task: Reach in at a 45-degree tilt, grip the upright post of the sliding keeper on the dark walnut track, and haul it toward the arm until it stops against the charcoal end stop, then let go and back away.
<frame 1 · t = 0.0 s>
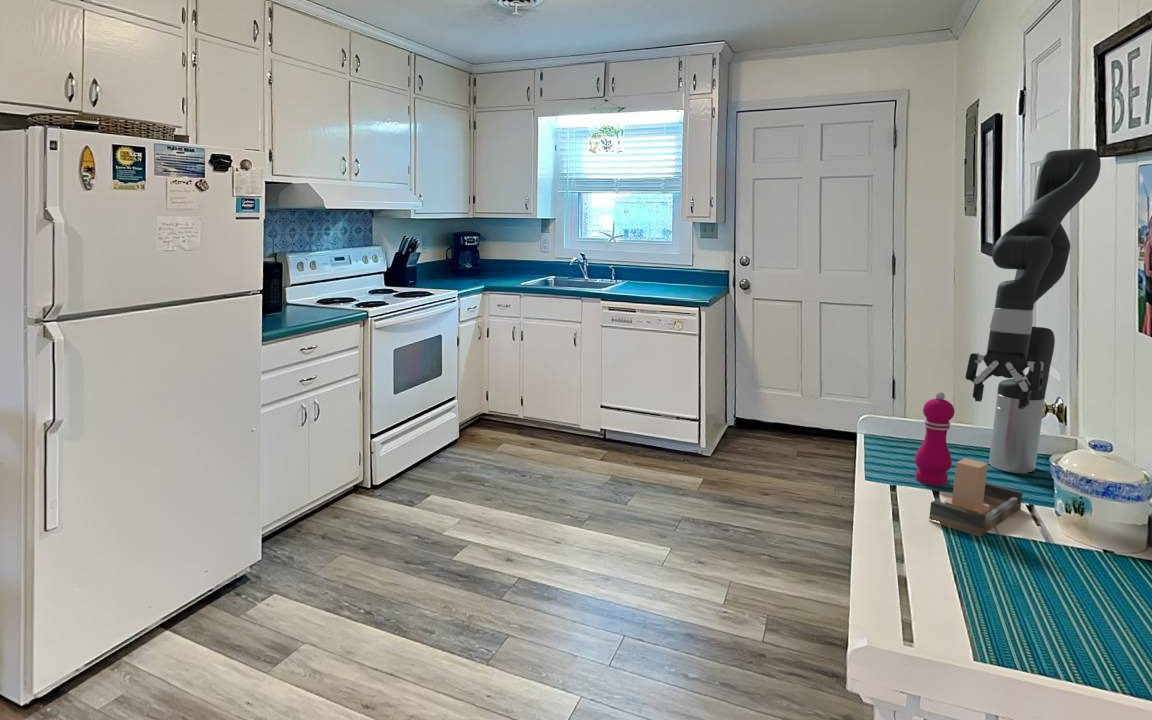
hand: (999, 404, 151), 17 cm above the table, tool pointing down, fingers open, 8 cm apart
track: (975, 515, 135), on the table
keeper: (969, 488, 130), point 7 cm above the table, slide at 5.0 cm
pepper mill: (930, 481, 154), on the table
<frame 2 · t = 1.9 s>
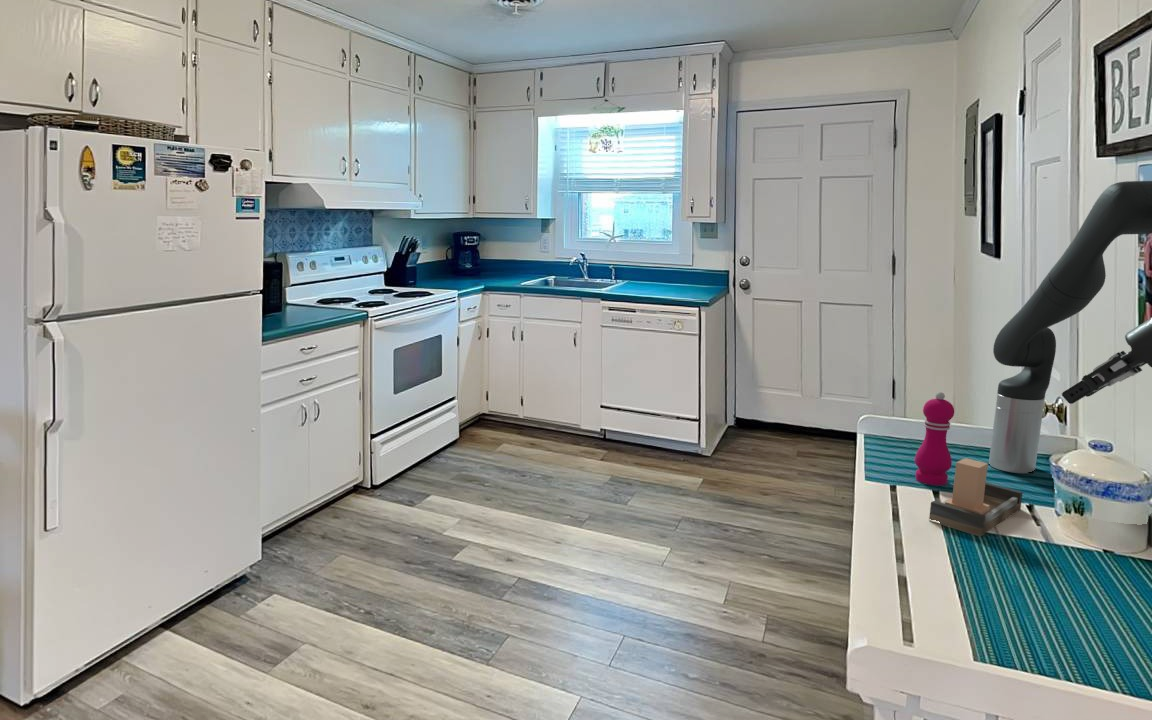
hand: (1074, 395, 116), 27 cm above the table, tool tilted 45°, fingers open, 8 cm apart
nothing on the table moved.
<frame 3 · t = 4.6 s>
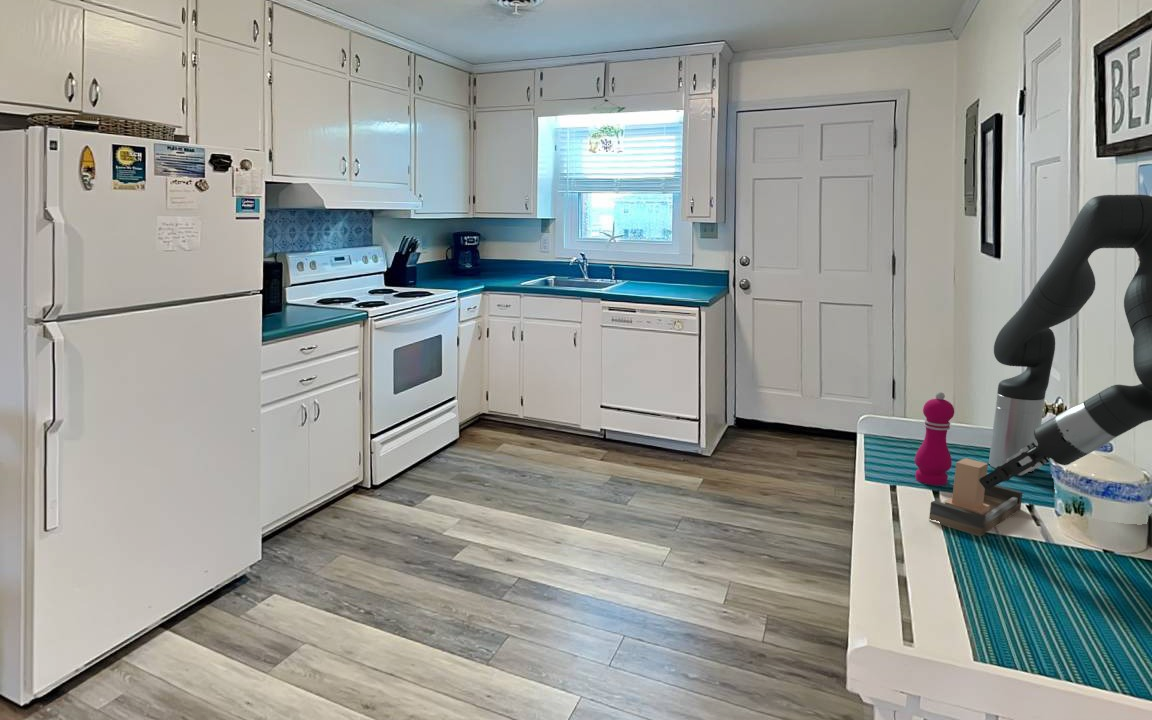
hand: (992, 479, 127), 9 cm above the table, tool tilted 45°, fingers open, 8 cm apart
nothing on the table moved.
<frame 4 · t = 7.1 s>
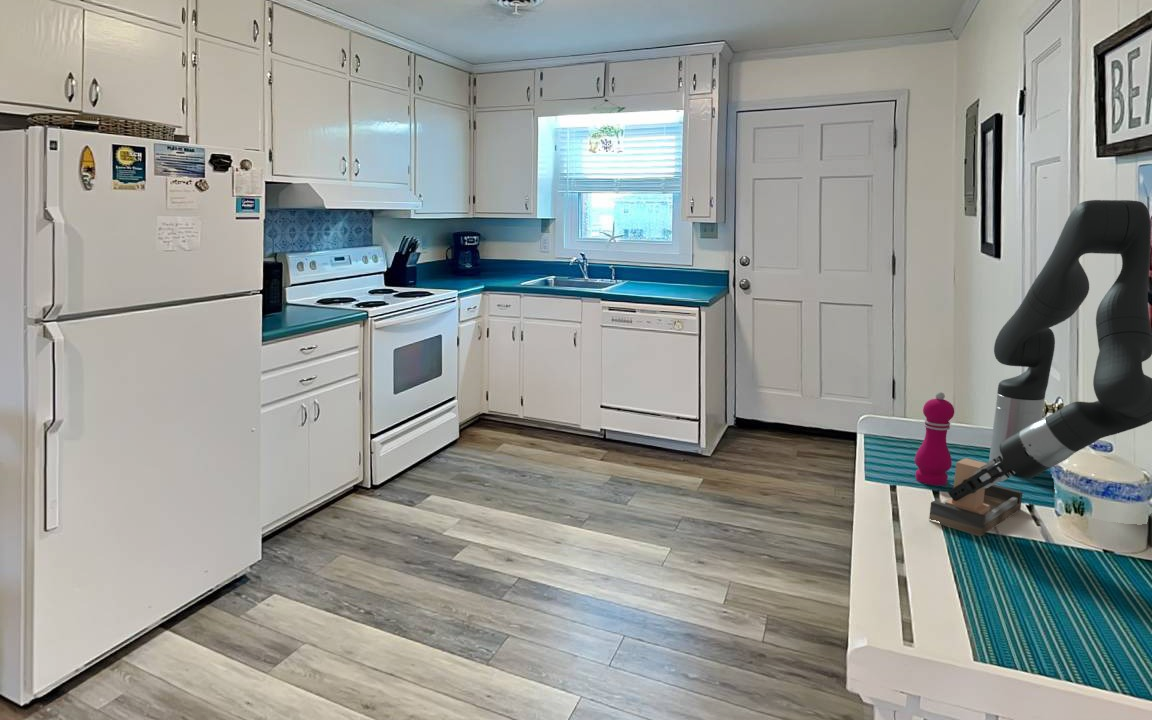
hand: (957, 493, 132), 5 cm above the table, tool tilted 45°, fingers closed on keeper, 4 cm apart
keeper: (969, 488, 130), point 7 cm above the table, slide at 5.0 cm, touching gripper
everything else where it was.
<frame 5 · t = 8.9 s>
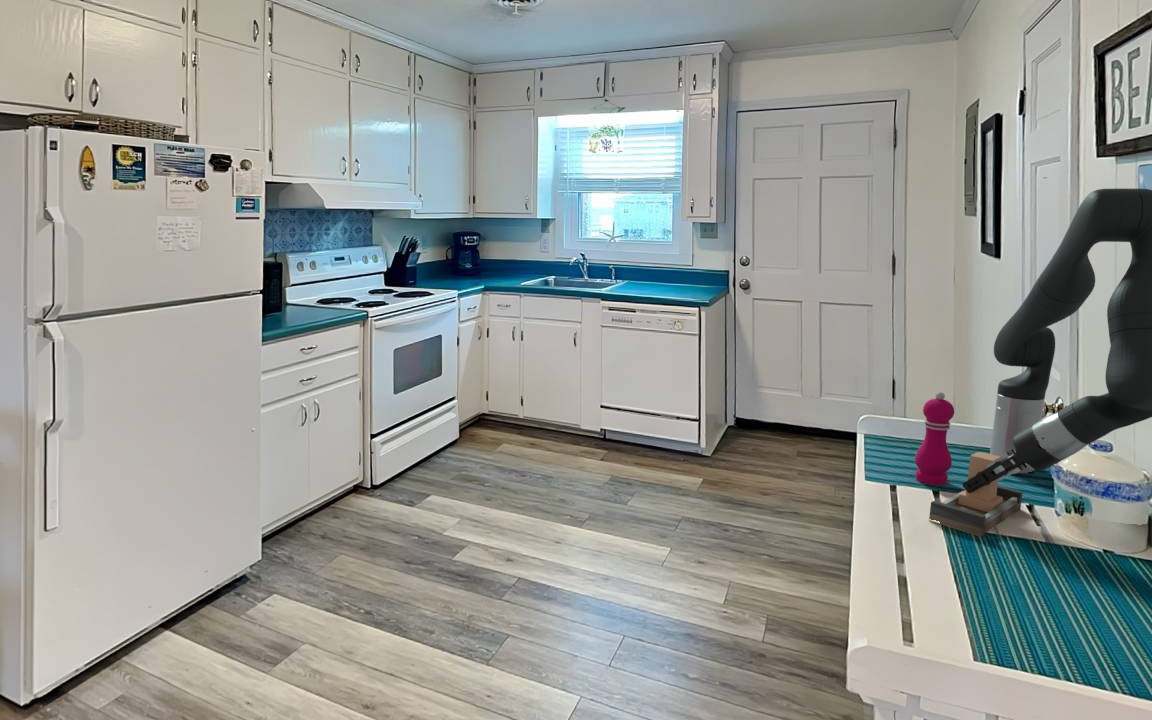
hand: (970, 485, 136), 5 cm above the table, tool tilted 45°, fingers closed on keeper, 4 cm apart
keeper: (982, 480, 135), point 7 cm above the table, slide at -1.5 cm, touching gripper
everything else where it was.
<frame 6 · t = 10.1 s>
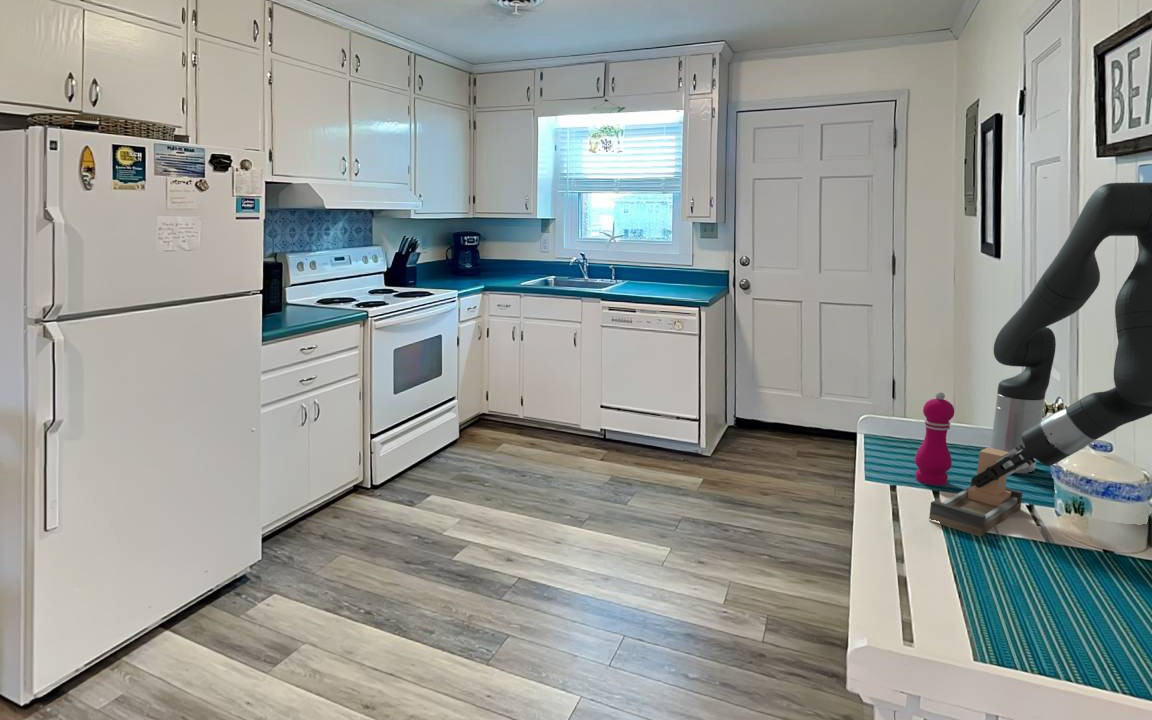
hand: (980, 480, 139), 5 cm above the table, tool tilted 45°, fingers closed on keeper, 4 cm apart
keeper: (991, 475, 137), point 7 cm above the table, slide at -6.0 cm, touching gripper
everything else where it was.
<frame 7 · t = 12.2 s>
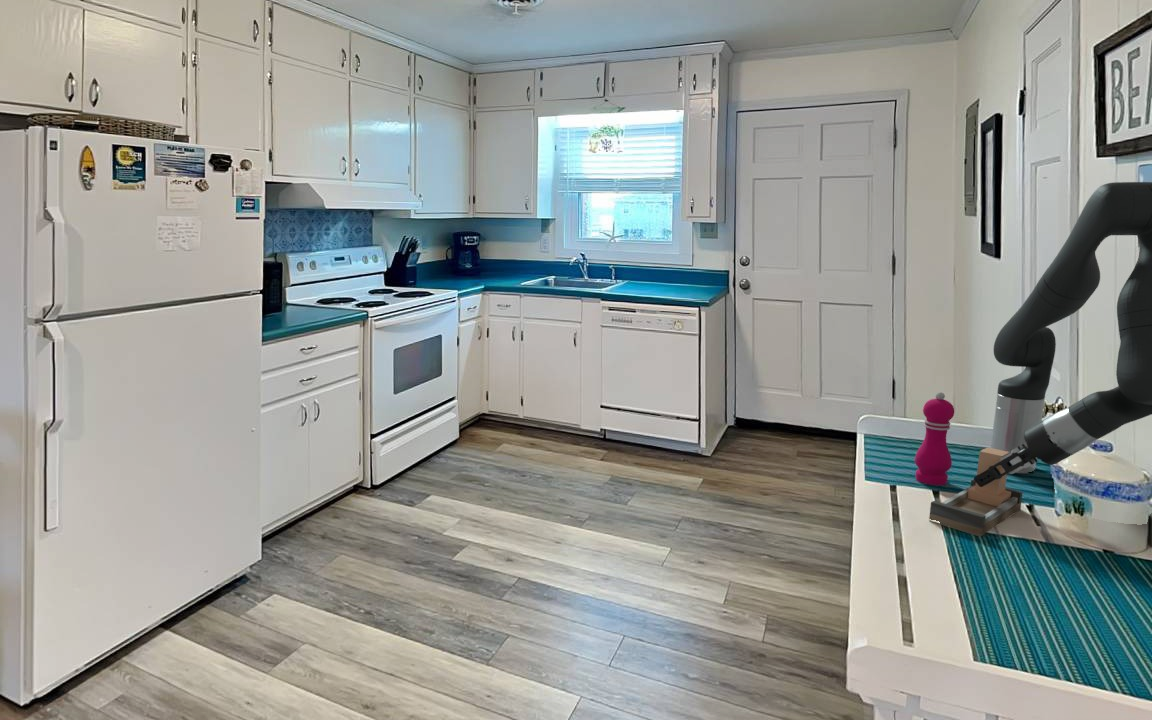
hand: (985, 477, 138), 6 cm above the table, tool tilted 45°, fingers open, 8 cm apart
keeper: (991, 475, 137), point 7 cm above the table, slide at -6.0 cm
everything else where it was.
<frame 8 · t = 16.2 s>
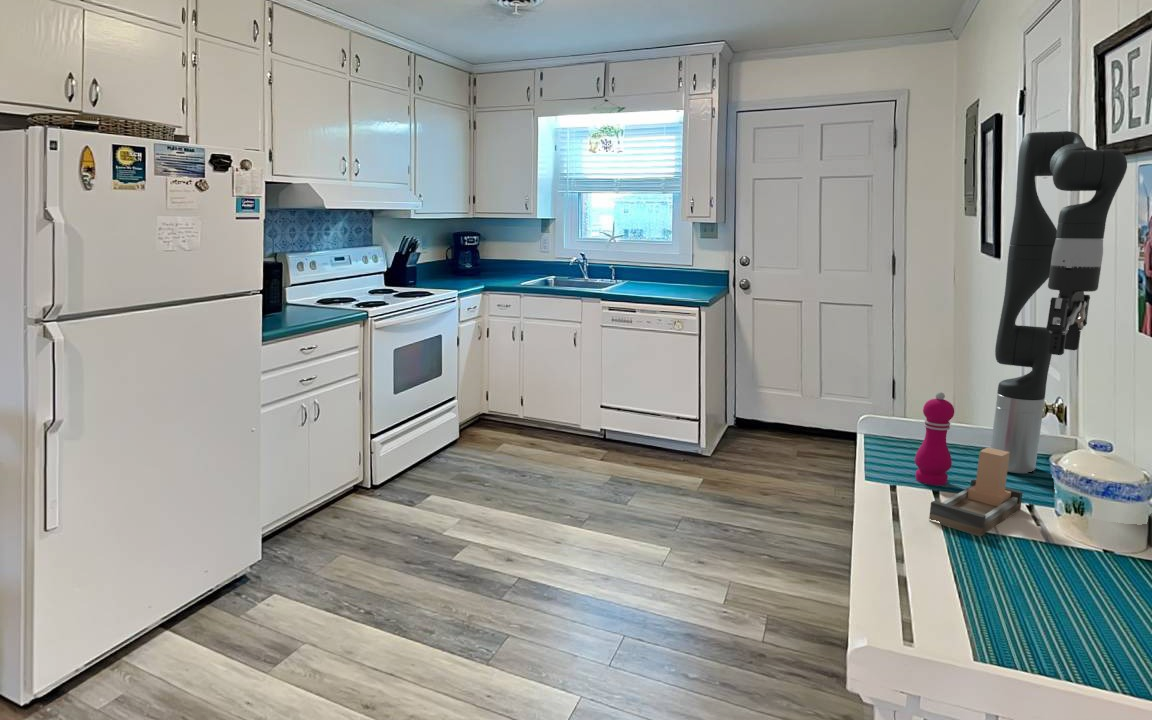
hand: (1063, 352, 129), 32 cm above the table, tool pointing down, fingers open, 8 cm apart
nothing on the table moved.
at the end: keeper slide at -6.0 cm; the gripper is holding nothing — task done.
